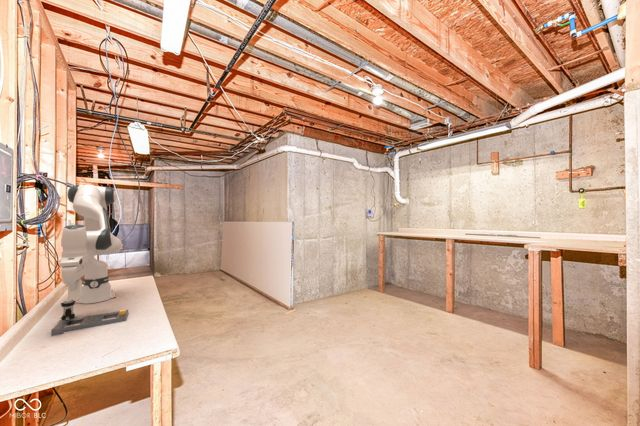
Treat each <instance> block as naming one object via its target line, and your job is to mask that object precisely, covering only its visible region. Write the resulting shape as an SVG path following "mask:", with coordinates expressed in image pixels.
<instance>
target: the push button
mask: <svg viewBox="0 0 640 426" xmlns="http://www.w3.org/2000/svg"><path fill="white" fill-rule="evenodd" d="M76 301H77V300H74V299H71V300H68V299H65V300H63V302H60V305H61V307H62V308H63V309H62V311H63V314H62V316H60V317H61V318H58V319H57V322H60V321H62V320H68V319H74V318H76V313H75V312H74V306H75V305H76Z"/></svg>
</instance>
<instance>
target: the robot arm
mask: <svg viewBox="0 0 640 426" xmlns="http://www.w3.org/2000/svg"><path fill="white" fill-rule="evenodd" d="M66 196H67V198H68V201H69V202H70V203H72V209H73V211H74V212H75V213H76V214H77V215H79V216H81V217H83V224H70V225H66V226H64V227H63V229H62V233H61V243H60V244H61V246H60V247H62V252H61V260H60V262H59V267H60V268H61V279H62V283H63V284H64V285H68V284H69V286H70V291H75V290H76V281H77V280H78V279H82V278H83V277H84V278H83V280H82V297H81V298H78V300H77V299H76V300H75V301H76V302H75V304H84V305H85V304H95V303H100V302H104V301H108V300H111V299H114V297H115V298H117V297H116V294H115V292H114V290H113V289H112V285H111V284H110V282H109V280H110V277H109V274H108V271H109V270H108V269H109V266H108V263H107V262H105V261H103V260H100V259H96V257H95V256H102V255H111V254H116V253H118V252H120V251H121V249H122V247H123V242H122V240H121V239H120V238H119V237H117V236H116V235H114V234H113V233H112V232H111V227H110V226H111V225H110V218H109V215H108V208H107V207H108V206H110V205H112V204H113V203H115V201H116V200H117V192H116V190H115V189H114V188H113V187H112V186H111V187H110V186H99V185H94V184H82V185H81V186H79V185H75V186H71V187H69V188H68V191H67V195H66Z"/></svg>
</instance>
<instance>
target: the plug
mask: <svg viewBox="0 0 640 426" xmlns="http://www.w3.org/2000/svg"><path fill="white" fill-rule="evenodd" d="M82 287H83V278H81V279H78V280H77V281H76V290H75V291H70V286H69V284H67V300H71V299H73V300H77V299H78V300H79V299H80V298H81V297H82Z"/></svg>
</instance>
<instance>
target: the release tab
mask: <svg viewBox="0 0 640 426" xmlns="http://www.w3.org/2000/svg"><path fill="white" fill-rule="evenodd" d="M126 310H127V309H120V310H118V311H119V315H125V314H126Z"/></svg>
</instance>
